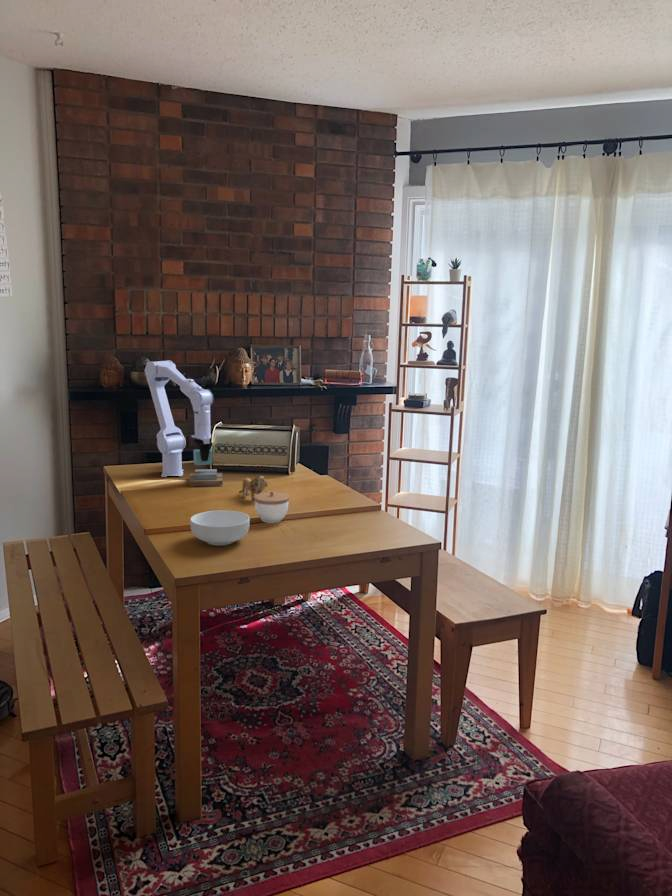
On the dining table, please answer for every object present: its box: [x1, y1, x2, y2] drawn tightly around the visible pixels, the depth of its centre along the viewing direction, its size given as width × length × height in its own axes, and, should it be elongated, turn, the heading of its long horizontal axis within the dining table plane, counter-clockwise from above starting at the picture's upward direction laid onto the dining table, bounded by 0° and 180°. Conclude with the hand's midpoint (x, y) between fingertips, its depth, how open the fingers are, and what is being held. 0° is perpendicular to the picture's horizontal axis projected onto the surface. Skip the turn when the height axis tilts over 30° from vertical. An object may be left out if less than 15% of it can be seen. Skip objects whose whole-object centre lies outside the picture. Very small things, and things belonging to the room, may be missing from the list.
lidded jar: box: [254, 490, 290, 524], centre depth 231 cm, size 11×11×9 cm
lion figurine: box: [238, 475, 270, 503], centre depth 255 cm, size 15×5×9 cm, turn 44°
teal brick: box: [192, 448, 213, 466], centre depth 273 cm, size 4×6×5 cm
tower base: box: [188, 468, 223, 487], centre depth 275 cm, size 12×12×4 cm
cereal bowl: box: [189, 509, 251, 547], centre depth 211 cm, size 17×17×7 cm
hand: (203, 459), depth 273 cm, fingers closed on teal brick, 4 cm apart
